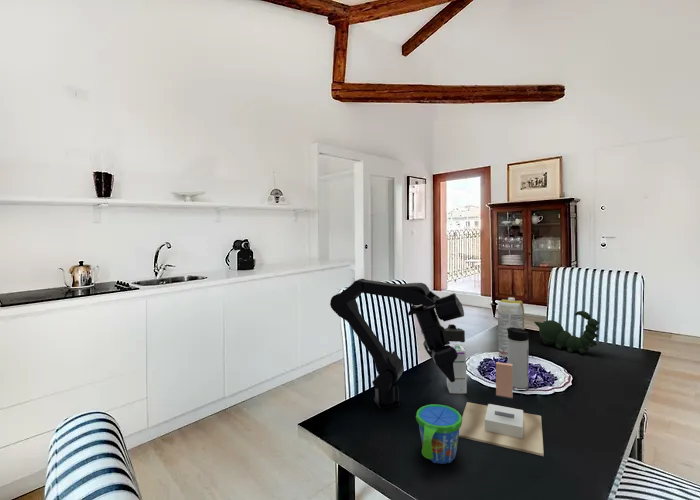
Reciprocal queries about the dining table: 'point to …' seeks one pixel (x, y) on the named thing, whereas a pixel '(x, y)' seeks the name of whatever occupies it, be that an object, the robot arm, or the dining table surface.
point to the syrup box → (458, 372)
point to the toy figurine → (556, 333)
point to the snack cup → (439, 432)
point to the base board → (476, 431)
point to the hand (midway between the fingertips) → (449, 376)
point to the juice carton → (508, 321)
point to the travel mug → (518, 356)
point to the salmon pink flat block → (504, 380)
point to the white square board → (504, 420)
